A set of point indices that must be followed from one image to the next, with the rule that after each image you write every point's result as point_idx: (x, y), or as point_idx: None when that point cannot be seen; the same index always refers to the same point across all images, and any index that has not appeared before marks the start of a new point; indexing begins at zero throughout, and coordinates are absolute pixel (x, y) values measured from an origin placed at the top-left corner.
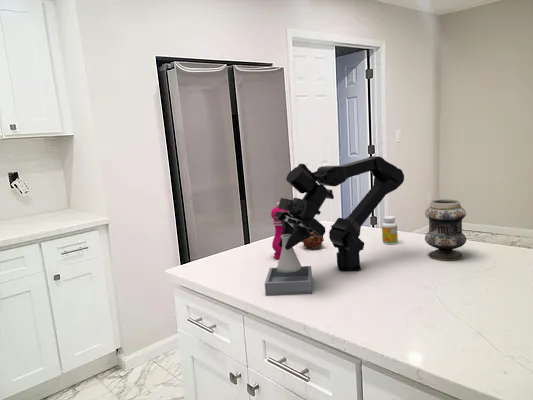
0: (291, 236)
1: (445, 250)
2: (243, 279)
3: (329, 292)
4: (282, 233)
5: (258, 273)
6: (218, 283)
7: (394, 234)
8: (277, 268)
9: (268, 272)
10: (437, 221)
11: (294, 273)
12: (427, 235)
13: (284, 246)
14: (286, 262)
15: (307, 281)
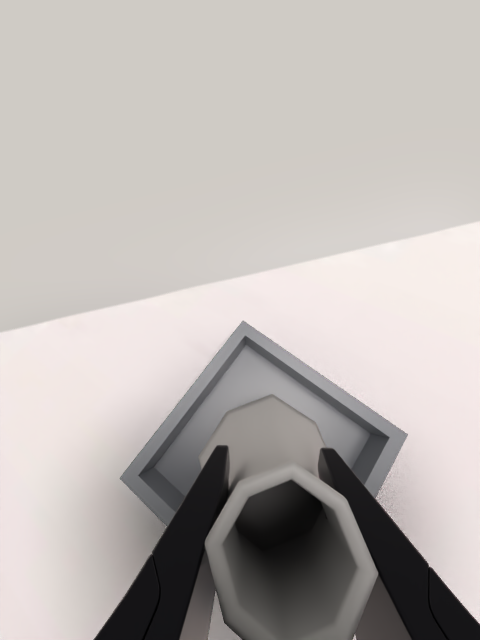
0: (166, 572)
1: None
2: (435, 342)
3: (100, 533)
4: (424, 586)
5: (475, 423)
6: (443, 263)
7: None
8: (278, 400)
9: (347, 394)
10: None
11: None
12: None
13: (255, 461)
14: (229, 433)
15: (130, 465)
